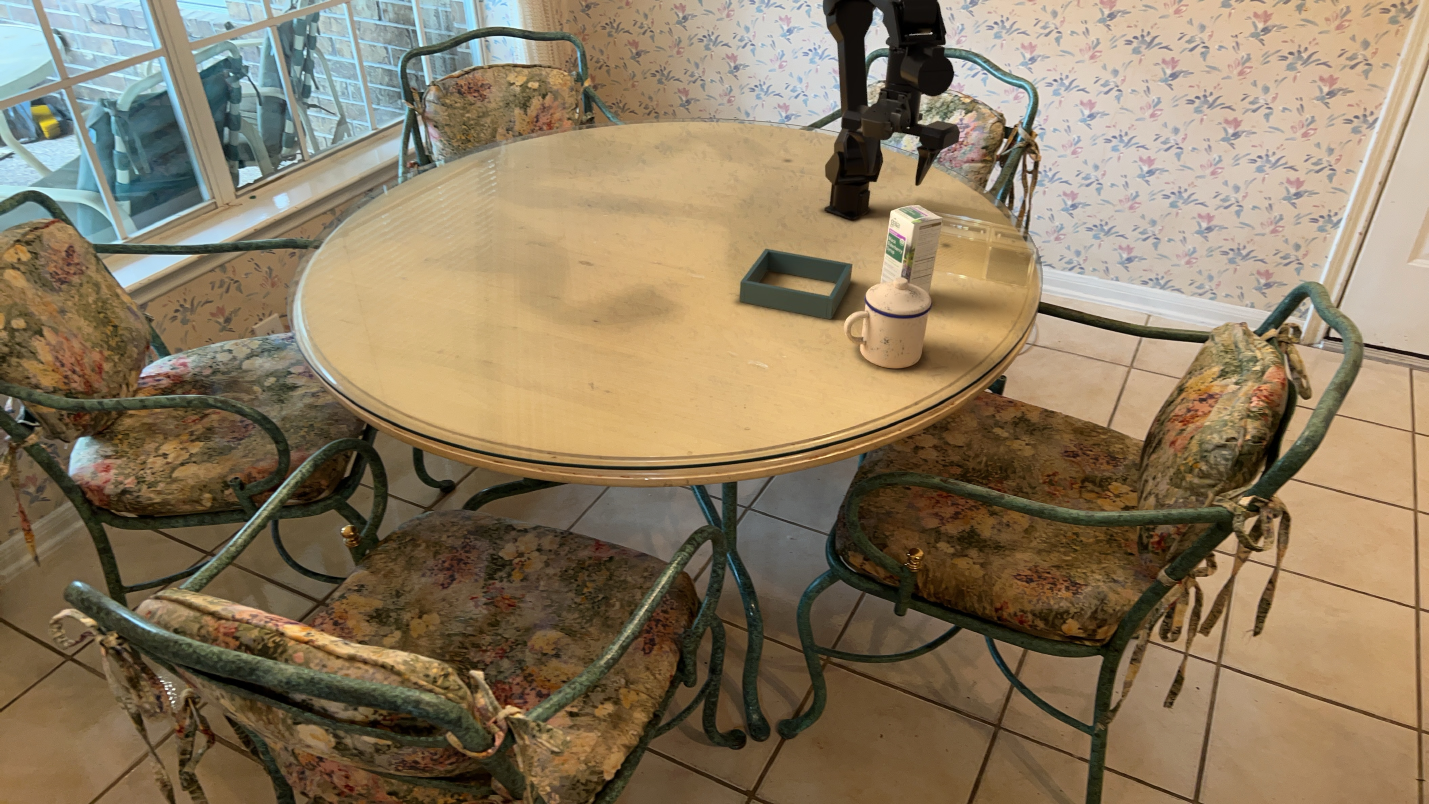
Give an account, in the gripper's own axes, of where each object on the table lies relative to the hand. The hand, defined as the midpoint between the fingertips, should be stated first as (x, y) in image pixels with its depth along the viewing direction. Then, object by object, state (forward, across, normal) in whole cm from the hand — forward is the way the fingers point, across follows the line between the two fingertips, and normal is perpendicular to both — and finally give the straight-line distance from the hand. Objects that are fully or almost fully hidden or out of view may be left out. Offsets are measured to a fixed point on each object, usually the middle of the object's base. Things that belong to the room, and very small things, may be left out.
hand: (893, 179), depth 148 cm
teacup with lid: (+15, +17, -29) cm, 37 cm away
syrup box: (+14, +11, -12) cm, 22 cm away
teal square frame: (+13, -3, -22) cm, 26 cm away
